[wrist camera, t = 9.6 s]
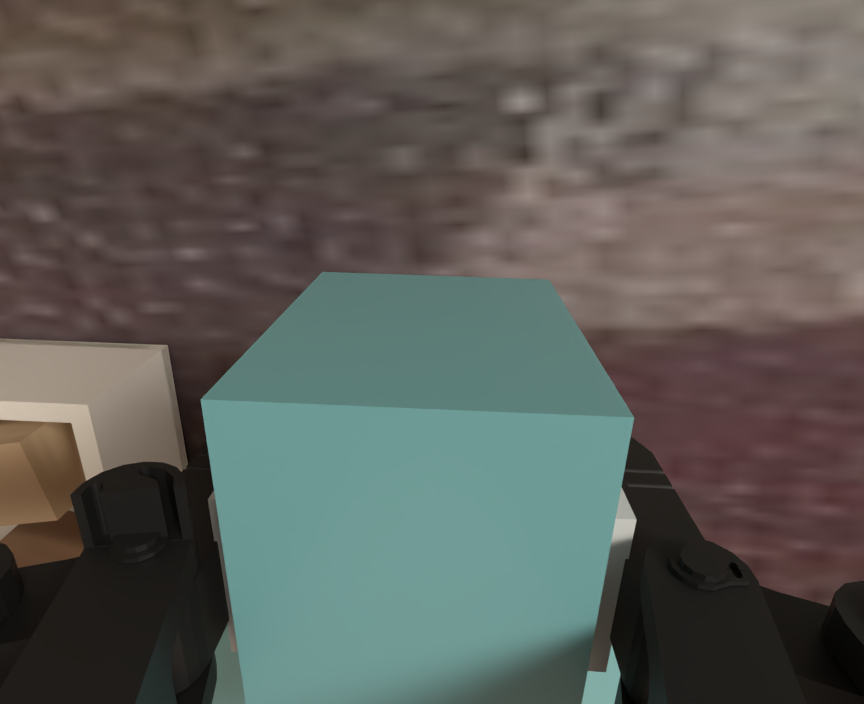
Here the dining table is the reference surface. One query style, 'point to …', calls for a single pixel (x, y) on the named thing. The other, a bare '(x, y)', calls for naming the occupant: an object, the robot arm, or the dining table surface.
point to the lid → (416, 497)
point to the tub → (96, 399)
